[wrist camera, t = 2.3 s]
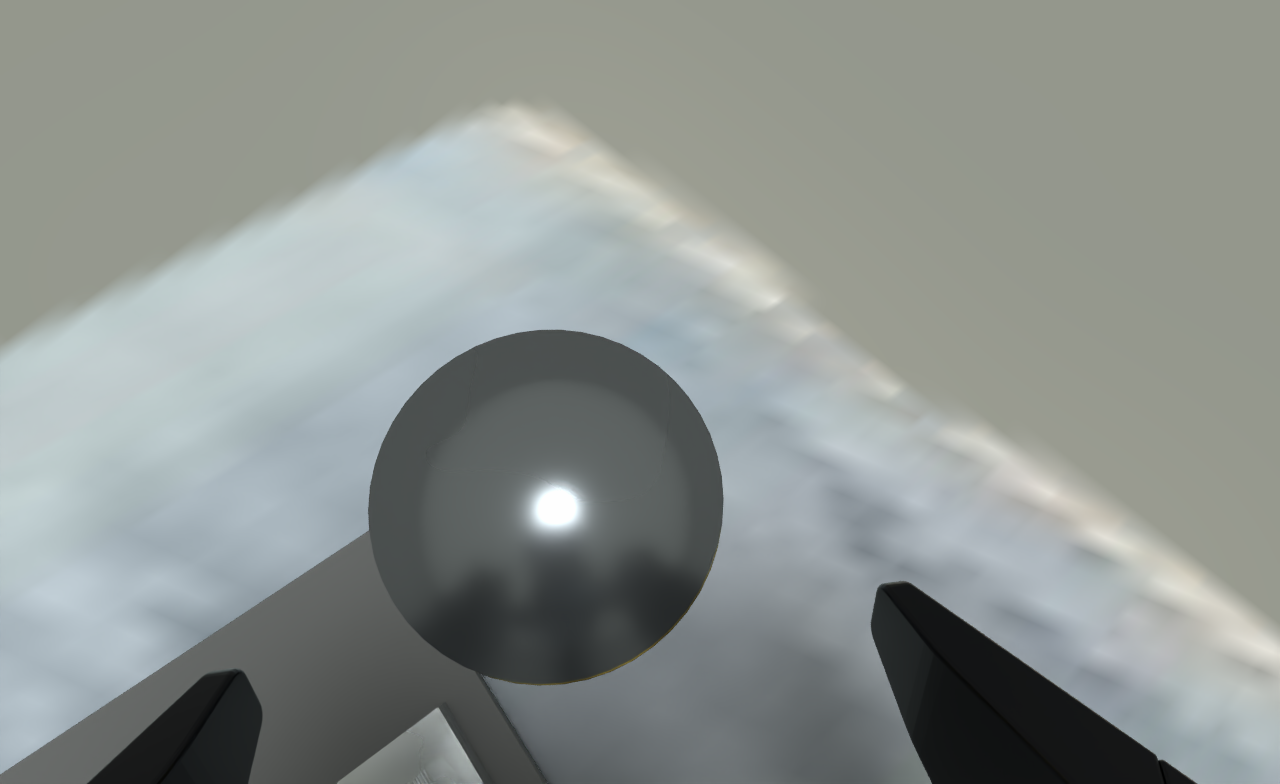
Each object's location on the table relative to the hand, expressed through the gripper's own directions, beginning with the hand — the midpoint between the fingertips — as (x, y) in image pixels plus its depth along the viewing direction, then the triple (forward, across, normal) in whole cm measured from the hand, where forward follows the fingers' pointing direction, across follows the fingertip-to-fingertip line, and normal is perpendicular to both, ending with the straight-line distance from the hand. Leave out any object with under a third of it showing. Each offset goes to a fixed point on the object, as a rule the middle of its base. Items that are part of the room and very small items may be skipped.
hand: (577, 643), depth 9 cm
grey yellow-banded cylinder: (+8, 0, +6) cm, 10 cm away
